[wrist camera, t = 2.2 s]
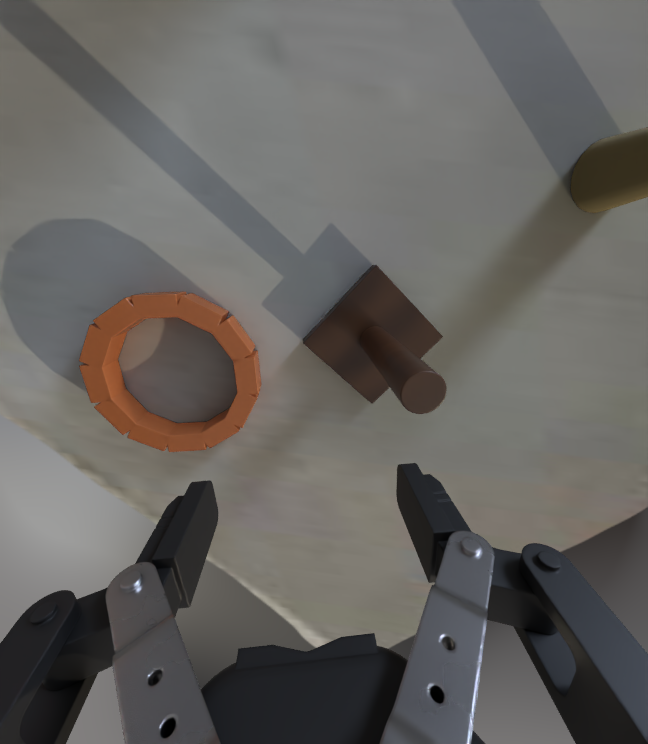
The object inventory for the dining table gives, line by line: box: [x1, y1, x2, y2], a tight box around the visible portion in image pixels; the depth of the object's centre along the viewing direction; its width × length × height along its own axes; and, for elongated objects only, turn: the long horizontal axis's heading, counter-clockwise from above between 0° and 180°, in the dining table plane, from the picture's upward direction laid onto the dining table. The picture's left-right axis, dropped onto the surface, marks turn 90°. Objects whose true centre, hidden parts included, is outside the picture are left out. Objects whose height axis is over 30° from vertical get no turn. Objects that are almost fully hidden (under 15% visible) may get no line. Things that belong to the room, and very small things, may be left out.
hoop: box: [79, 292, 261, 452], centre depth 30 cm, size 16×16×3 cm
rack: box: [303, 265, 446, 414], centre depth 24 cm, size 10×10×14 cm
